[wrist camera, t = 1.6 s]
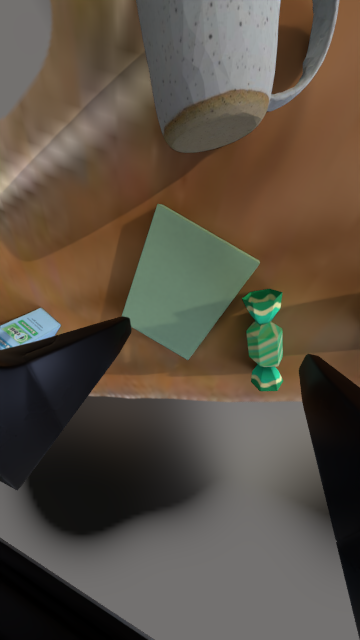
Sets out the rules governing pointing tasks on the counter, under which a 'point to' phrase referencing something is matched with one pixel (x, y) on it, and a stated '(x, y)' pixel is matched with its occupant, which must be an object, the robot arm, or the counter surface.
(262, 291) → the candy
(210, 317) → the cutting board
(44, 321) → the gum box
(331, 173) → the counter surface
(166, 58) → the ceramic mug
